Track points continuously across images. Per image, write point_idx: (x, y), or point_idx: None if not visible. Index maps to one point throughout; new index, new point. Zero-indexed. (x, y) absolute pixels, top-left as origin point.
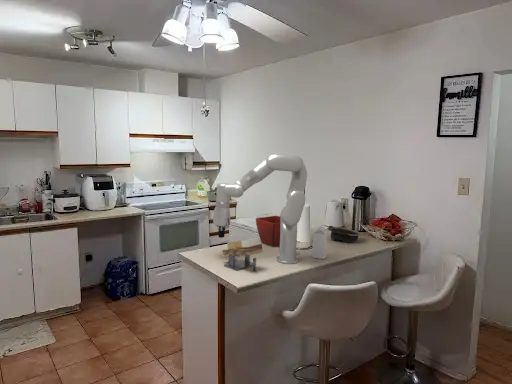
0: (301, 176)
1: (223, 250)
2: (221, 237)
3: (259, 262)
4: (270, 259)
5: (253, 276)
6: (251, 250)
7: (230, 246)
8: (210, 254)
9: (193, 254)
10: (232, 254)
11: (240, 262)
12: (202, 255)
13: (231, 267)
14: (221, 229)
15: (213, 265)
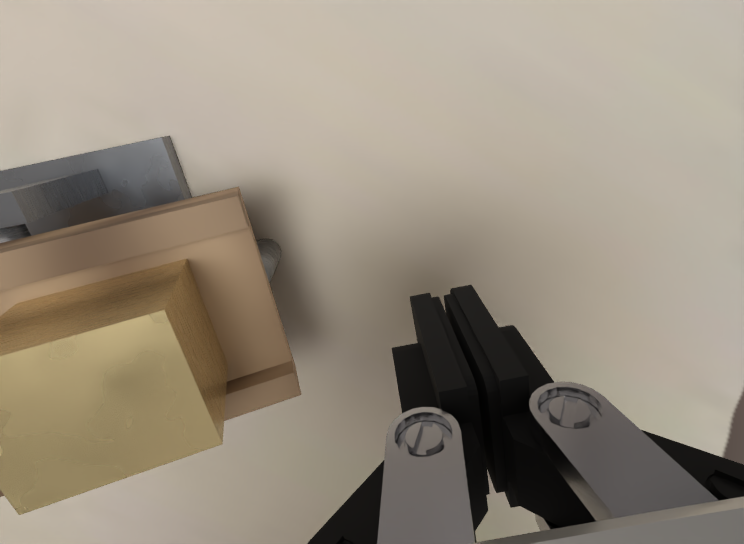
0: None
1: (213, 201)
2: (415, 326)
3: None
4: (203, 537)
5: None
6: None
7: (106, 300)
8: (592, 200)
9: (721, 23)
10: (26, 238)
11: None
12: (620, 105)
13: (43, 162)
14: (426, 453)
15: (239, 40)
